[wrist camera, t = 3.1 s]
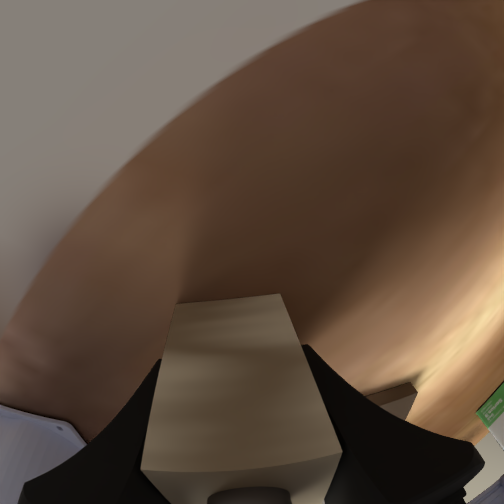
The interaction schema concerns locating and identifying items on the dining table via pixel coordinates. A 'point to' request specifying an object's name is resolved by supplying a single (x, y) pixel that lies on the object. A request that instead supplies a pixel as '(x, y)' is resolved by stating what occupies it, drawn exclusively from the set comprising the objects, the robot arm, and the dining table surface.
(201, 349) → the plug
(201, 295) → the dining table surface
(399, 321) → the dining table surface
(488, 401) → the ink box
